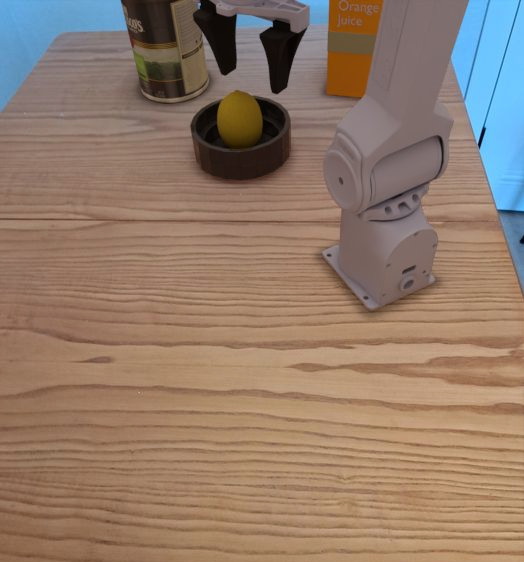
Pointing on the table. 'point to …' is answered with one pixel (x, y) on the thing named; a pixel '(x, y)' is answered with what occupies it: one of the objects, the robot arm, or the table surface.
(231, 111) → the lemon
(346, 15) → the orange juice
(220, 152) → the bowl
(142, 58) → the coffee can
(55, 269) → the table surface
